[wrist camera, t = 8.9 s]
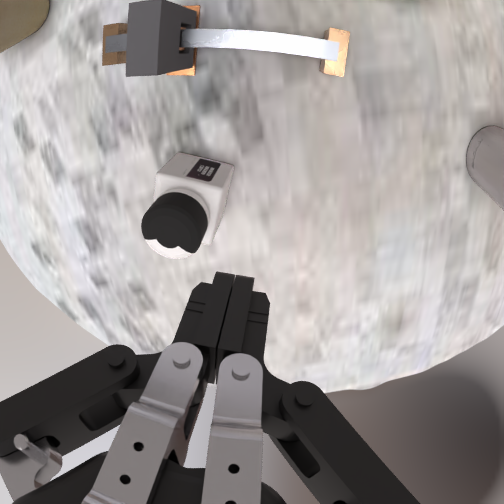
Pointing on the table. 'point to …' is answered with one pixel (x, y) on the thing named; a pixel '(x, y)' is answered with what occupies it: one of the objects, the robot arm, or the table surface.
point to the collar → (157, 38)
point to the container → (186, 205)
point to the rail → (240, 44)
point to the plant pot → (20, 20)
